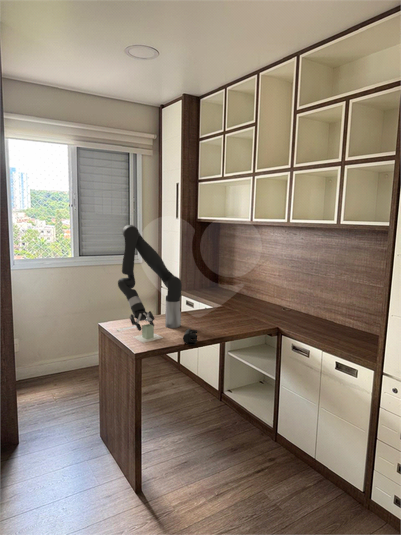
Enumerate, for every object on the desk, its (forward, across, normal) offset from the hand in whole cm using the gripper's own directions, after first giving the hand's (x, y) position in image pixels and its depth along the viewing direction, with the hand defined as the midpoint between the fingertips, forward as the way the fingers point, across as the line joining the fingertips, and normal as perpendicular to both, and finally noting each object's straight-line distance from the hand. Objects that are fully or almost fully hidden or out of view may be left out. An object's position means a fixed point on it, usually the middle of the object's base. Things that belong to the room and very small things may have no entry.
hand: (146, 328), depth 210 cm
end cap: (+18, +17, -9) cm, 26 cm away
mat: (-8, +1, +17) cm, 19 cm away
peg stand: (+5, 0, +4) cm, 7 cm away
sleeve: (+4, 0, +3) cm, 5 cm away
